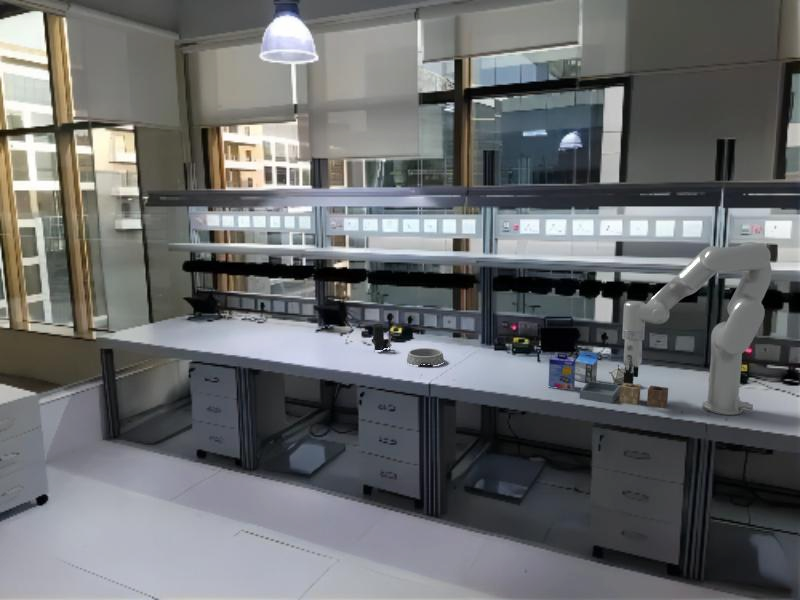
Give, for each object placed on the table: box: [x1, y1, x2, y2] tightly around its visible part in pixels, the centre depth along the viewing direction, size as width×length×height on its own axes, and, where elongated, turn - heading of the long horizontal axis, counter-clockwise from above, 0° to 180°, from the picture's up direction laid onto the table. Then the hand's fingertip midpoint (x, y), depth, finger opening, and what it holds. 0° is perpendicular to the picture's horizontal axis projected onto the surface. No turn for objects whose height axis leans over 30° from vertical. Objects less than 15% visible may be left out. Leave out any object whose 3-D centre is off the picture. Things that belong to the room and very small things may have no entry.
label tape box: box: [575, 350, 599, 384], centre depth 242 cm, size 9×4×12 cm, turn 40°
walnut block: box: [646, 385, 669, 409], centre depth 213 cm, size 6×6×6 cm
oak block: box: [619, 383, 641, 406], centre depth 217 cm, size 6×6×6 cm
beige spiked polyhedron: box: [608, 364, 635, 386], centre depth 237 cm, size 9×8×10 cm
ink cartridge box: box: [548, 353, 577, 391], centre depth 234 cm, size 10×6×14 cm, turn 67°
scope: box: [371, 323, 392, 351], centre depth 297 cm, size 8×14×10 cm
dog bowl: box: [406, 347, 445, 367], centre depth 275 cm, size 17×18×5 cm
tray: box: [579, 381, 621, 404], centre depth 224 cm, size 12×14×3 cm
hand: (630, 379), depth 217 cm, fingers open, 9 cm apart
